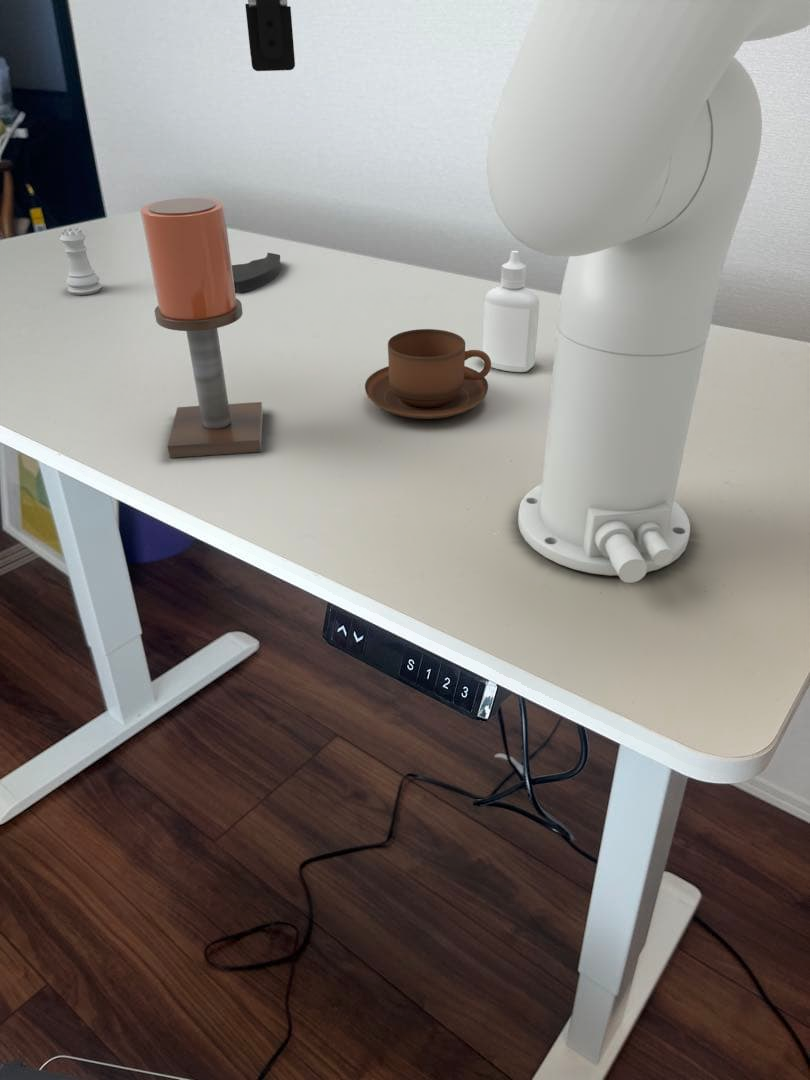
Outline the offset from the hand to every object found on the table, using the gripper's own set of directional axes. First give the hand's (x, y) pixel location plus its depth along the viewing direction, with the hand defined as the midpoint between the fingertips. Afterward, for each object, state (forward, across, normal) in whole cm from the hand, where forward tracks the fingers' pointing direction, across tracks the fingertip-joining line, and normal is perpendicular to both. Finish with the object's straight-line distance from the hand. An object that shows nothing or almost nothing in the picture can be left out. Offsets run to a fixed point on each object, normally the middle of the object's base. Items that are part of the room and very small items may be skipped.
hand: (271, 64), depth 65 cm
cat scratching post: (+29, +6, -8) cm, 31 cm away
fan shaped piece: (+29, -42, -5) cm, 51 cm away
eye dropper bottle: (+29, -4, +22) cm, 37 cm away
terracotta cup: (+17, +6, -8) cm, 20 cm away
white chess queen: (+29, -41, -27) cm, 57 cm away
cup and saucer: (+29, +3, +12) cm, 32 cm away
